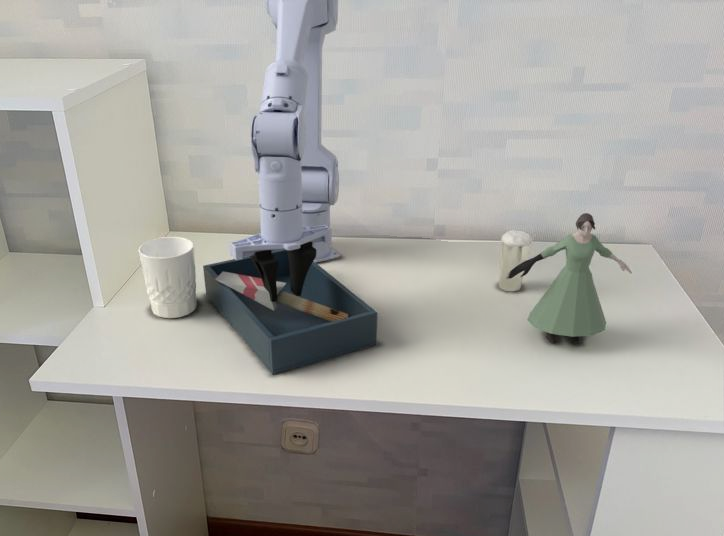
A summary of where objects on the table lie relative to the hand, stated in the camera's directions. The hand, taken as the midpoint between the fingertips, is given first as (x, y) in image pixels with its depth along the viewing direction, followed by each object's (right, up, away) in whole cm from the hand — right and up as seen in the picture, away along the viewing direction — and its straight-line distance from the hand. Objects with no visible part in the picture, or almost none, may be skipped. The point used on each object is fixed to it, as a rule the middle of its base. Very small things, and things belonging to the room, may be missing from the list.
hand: (283, 296), depth 101 cm
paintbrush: (-1, -1, +1) cm, 2 cm away
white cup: (-17, -2, +6) cm, 18 cm away
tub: (0, -3, +2) cm, 4 cm away
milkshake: (+35, +2, +10) cm, 37 cm away
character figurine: (+38, -6, -4) cm, 38 cm away
